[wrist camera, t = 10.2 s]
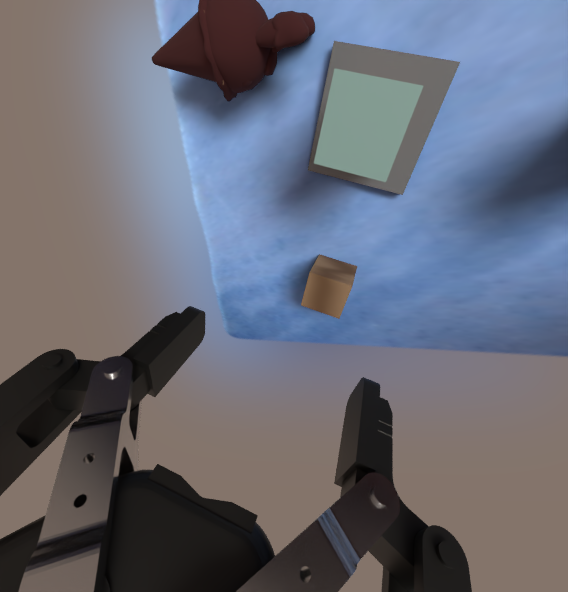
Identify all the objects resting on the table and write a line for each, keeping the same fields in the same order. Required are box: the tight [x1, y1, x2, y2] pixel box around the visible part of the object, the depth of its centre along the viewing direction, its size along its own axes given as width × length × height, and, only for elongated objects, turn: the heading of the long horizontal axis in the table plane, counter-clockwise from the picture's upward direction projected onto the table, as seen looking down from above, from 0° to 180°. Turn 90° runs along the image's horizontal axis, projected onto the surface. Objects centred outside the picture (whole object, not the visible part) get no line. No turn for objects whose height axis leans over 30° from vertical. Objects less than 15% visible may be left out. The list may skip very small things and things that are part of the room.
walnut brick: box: [301, 254, 357, 319], centre depth 33 cm, size 5×5×5 cm
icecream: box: [152, 0, 315, 101], centre depth 22 cm, size 7×7×15 cm
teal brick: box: [314, 69, 423, 182], centre depth 18 cm, size 5×5×5 cm
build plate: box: [308, 41, 460, 195], centre depth 24 cm, size 10×10×1 cm
